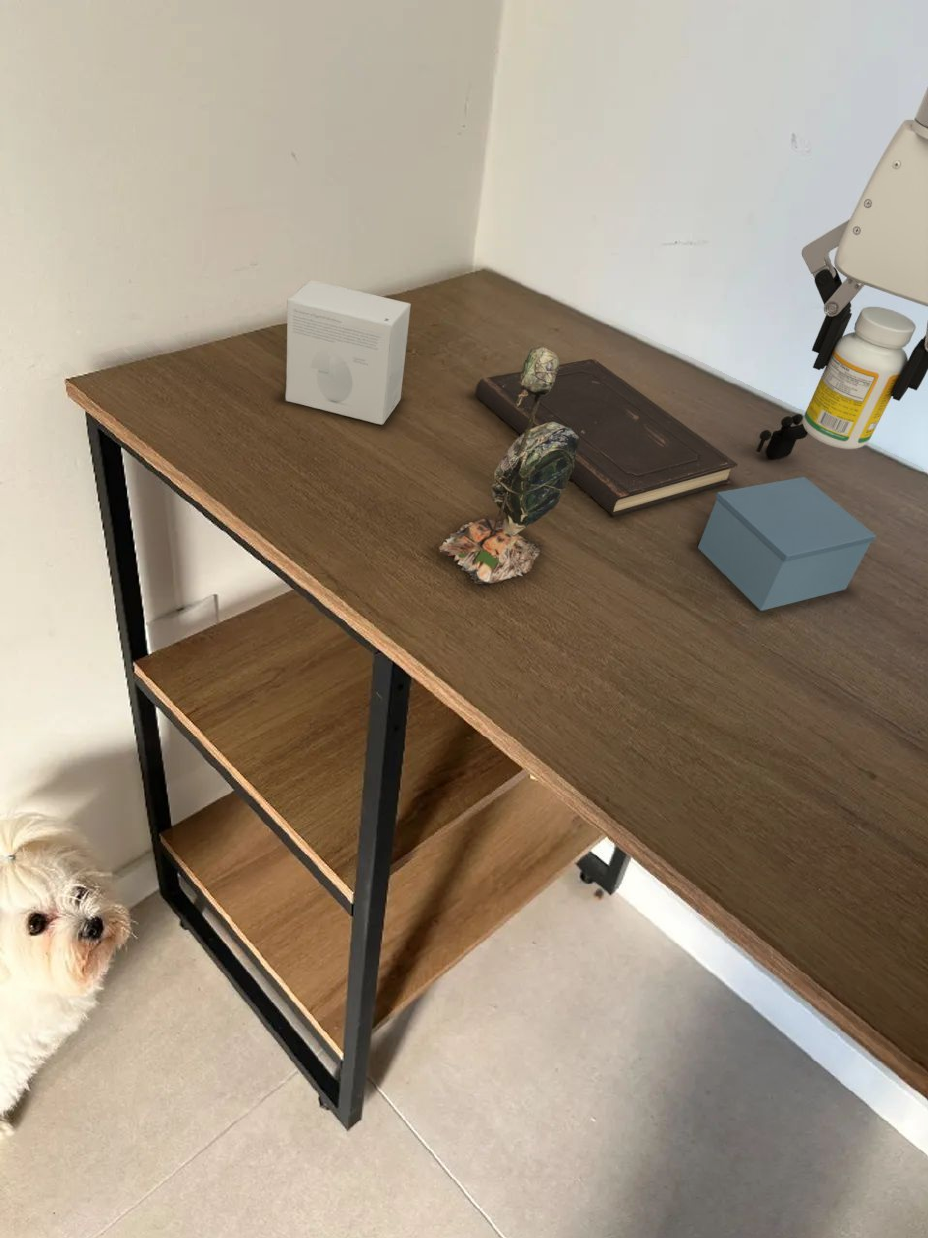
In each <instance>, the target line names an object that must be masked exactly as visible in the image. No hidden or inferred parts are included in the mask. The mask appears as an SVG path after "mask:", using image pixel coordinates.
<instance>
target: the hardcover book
mask: <svg viewBox="0 0 928 1238" xmlns="http://www.w3.org/2000/svg"><path fill="white" fill-rule="evenodd" d="M520 376H521V371H517V372H510V373H506V374H505V373H504V374H500V375H495V376H494V375H493V376H489V377H484V378H481V379H480V380H479V381H478V382H477V384H476V388H475V396H476V397H477V398H478V399H479V400H480V401H481V402H482V403H483V404H484V405H486V406H487V407H488V408H489V409H490V410H492V412H494V414H496V415H497V416H498V417H499V418H500V419H502V420H503V421H504V422H505V423H506V424H507V425H508V426H510V427H511V428H512V429H513V430H514V431H515V432H516V433H518V434H519V435H520V436H521V435H522V434H523V433H525V430H526V428H527V425H528V421H529V418H530V415H531V410H532V406H533V404H534V397H535V395H529V396H526V397H524V398H523V399H522V402H521V403H520V405H518V406H516V402H517V400H518V395H520V394H521V393H522V387H521V385H520V384H519V382H518V381H519V380H520ZM551 422H555V423H558V424H561V425H563V426H565V427H569V428H571V429H572V430H573V432H574V433H575V434H576V435H577V436H578V437H579V438H578V440H579V444H578V448H577V450H576V453H577V454H576V457H575V459H574V460H575V461H574V469H573V471H572V473H571V474H570V476H569V479H570V480H571V481H572V482H574V483H575V484H576V485H577V486H578V487H579V488H580V489H582V490H583V491H584V492H585V493H586V494H587V495H589V496H590V497H591V498H592V499H593V500H594V501H596V502H597V504H599V505H600V506H601V507H602V508H603V509H604V510H605V511H607V512H608V513H609V514H610V515H611V516H612V517H618V516H621V515H624V514H628V513H631V512H634V511H638V510H642V509H644V508H648V507H652V506H655V505H658V504H663V503H666V502H669V501H672V500H677V499H680V498H683V497H686V496H689V495H693V494H697V493H700V492H704V491H706V490H710V489H714V488H717V487H721V486H723V485H727V484H731V483H732V480H731V479H730V478H729V475H730V472H731V470H732V469H734V468H737V467H738V465H739V464H738V463H737V462H736V461H734V460H733V459H732V458H730V457H729V456H727V455H726V454H724V452H722V451H721V450H720V449H718V448H717V447H715V446H714V445H712V444H711V443H710V442H708V441H707V440H706V439H704V438H703V437H701V435H699V434H698V433H696V432H695V431H693V430H692V429H691V428H690V427H688V426H687V425H685V424H684V423H682V422H681V421H680V420H679V419H677V418H676V417H674V416H673V415H672V414H670V413H669V412H667V411H666V410H665V409H663V408H662V407H660V405H658V404H657V403H655V402H654V401H653V400H652V399H650V398H649V397H647V396H646V395H644V394H643V393H642V392H640V391H639V390H638V389H636V388H635V387H634V386H632V385H631V384H629V383H628V382H627V381H625V380H624V379H622V378H621V377H620V376H619V375H617V374H615V373H614V372H613V371H611V370H610V369H609V368H607V367H606V366H605V365H603V364H602V363H601V362H599V361H598V360H597V359H596V358H589V359H583V360H577V361H573V362H571V361H570V362H567V363H559V367H558V371H557V374H556V378H555V383H554V385H553V387H552V388H551V390H550V392H549V393H548V394H547V395H545V396H540V399H539V405H538V407H537V411H536V413H535V418H534V420H533V421H532V426H531V429H532V428H535V427H537V426H541V425H543V424H545V423H551ZM582 430H584V432H585V433H584V434H583V433H581V431H582Z"/></svg>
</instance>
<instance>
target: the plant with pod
mask: <svg viewBox="0 0 928 1238" xmlns="http://www.w3.org/2000/svg"><path fill="white" fill-rule="evenodd" d="M559 365H560V361H559V358H558V356H557V354H556V353H555V352H554V351H553V350H550V349H547V347H546V346H540V347H534V348H532V349H530V351H529V352H528V355H527V357H526V359H525V360H524V362H523V365H522V368H521V371H520V372H521V376H520V380H519V381H518V382H519V384H520V385H521V387H522V393H521V394H520V395H518V400H517V402H516V406H518V405H520V403H521V402H522V399H523V398H524V397H526V396H529V395H535V397H534V404H533V406H532V410H531V415H530V418H529V421H528V425H527V428H526V430H525V433H523V434H522V435H520V436H519V437H518V438H516V439H515V441H514V442H513V443H512V444H511V446H509V447H508V449H507V451H506V452H505V454H504V455H503V457H502V459H501V460H500V462H499V463H498V465H497V468H496V469H495V470H494V474H493V476H494V478H493V484H492V486H491V488H492V493H491V498H492V501H493V503H494V504H495V506H497V508H499V511H498V514H497V517H496V518H492V517H491V516H488V517H487V518H482V519H481V518H480V519H479V520H477V521H475V522H474V521H473V522H469V523H465V524H462V526H461V527H460V529H456V531H457V532H450V533H449V538H446V539H445V541H446V542H445V541H443V544H442V545H440V546H438V548H439V552H440V553H442V555H447V557H451V556H454V559H453V562H456V561H458V562H457V565H459V566H461V569H460V570H461V571H464V572H466V574H469V576H471V577H470V579H471V580H473V582H474V584H478V585H484V586H485V585H492V584H497V583H501V582H502V581H506V580H507V579H511V578H513V577H517V576H520V577H523V574H524V575H527V574H528V573H529V572H531V569H533V566H534V563H535V560H536V558H538V557H539V554H540V552H541V549H542V548H543V547H544V546H543V545H542V546H541V544H540V545H539V543H540V542H537V543H536V542H532V541H529V540H528V539H526V538H524V537H523V536H521V535H519V534H520V533H521V531H523V530H524V529H526V528H527V527H529V525H531V524H534V523H535V522H537V521H538V520H540V519H542V518H543V516H545V515H546V514H548V512H550V511H552V510H554V508H556V506H557V505H558V504H559V501H560V499H561V497H562V494H563V492H564V491H565V490H566V488H567V485H568V482H569V479H570V478H569V476H570V474H571V473H572V471H573V469H574V461H575V460H574V459H575V457H576V454H577V453H576V450H577V448H578V444H579V440H578V438H579V437H578V436H577V435H576V434H575V433H574V432H573V430H572V429H571V428H569V427H565V426H563V425H561V424H558V423H555V422H551V423H545V424H543V425H541V426H537V427H535V428H532V429H531V426H532V421H533V420H534V418H535V413H536V411H537V407H538V405H539V399H540V396H545V395H547V394H548V393H549V392H550V390H551V388H552V387H553V385H554V383H555V378H556V374H557V371H558V367H559ZM581 433H583V434H584V433H585V432H584V430H582V431H581ZM502 513H504V516H505V518H504V519H503V520H502V521H503V522H502V521H500V519H501V516H502ZM522 573H523V574H522Z"/></svg>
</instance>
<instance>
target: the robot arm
mask: <svg viewBox="0 0 928 1238" xmlns="http://www.w3.org/2000/svg"><path fill="white" fill-rule="evenodd" d="M836 248H837V249H836ZM834 249H836V251H835V255H834V260H833V264H834V265H833V264H832V260H831V257H830V252H831V251H833V250H834ZM801 257H802V258H803V261H804V262H805V264H806V266H807V269H808V271H809V272H810V274H811V275H812V276H813V278H814V285H815V286H816V289H817V291H818V294H819V296H820V299H821V301H822V303H823V312H824V314H825V316H824V318H823V322H822V323H821V327H820V328H819V331H818V333H817V336H816V337H815V341H814V342H813V345H812V348H811V351H812V352H814V353H816V354H817V356H816V358H815V361H814V363H813V365H812V368H813V369H815V370H818V371H820V370H825V368H826V365H827V363H828V361H829V358H830V356H831V354H832V352H833V349H834V347H835V345H836V343H837V342H838V340H839V339H840V338H841V337H843V336H844V335H845V332H846V330H847V327H848V325H849V322H850V320H851V318H852V315H853V313H852V309H851V308H852V303H851V302H852V301H853V299H854V298H855V297H856V296H857V295H858V293H859V292H860V291H861V290H862V289H863V288H864V287H865V286H866V287H869V288H873V289H876V290H879V291H881V292H884V293H887V294H889V295H892V296H895V297H898V298H901V299H904V300H907V301H910V302H912V303H916V304H919V305H921V306H923V307H926V308H927V307H928V87H927V88H926V90H925V93H924V95H923V97H922V100H921V102H920V105H919V107H918V109H917V112H916V114H915V116H914V119H904V120H903V122H902V123H901V124H900V126H899V127H898V129H897V130H896V131H895V133H894V135H893V136H892V138H891V139H890V141H889V143H888V145H887V146H886V148H885V149H884V151H883V153H882V155H881V157H880V159H879V160H878V162H877V164H876V166H875V168H874V170H873V171H872V174H871V175H870V177H869V179H868V181H867V183H866V185H865V187H864V189H863V191H862V193H861V196H860V198H859V200H858V201H857V204H856V206H855V208H854V210H853V212H852V214H851V216H850V218H849V219H846V220H845V221H844V222H842V223H840V224H839V225H837V226H836V227H833V228H832V229H830V230H828V231H827V232H826V233H824V234H822V235H821V236H819V237H817V238H815V239H813V240H812V241H811V242H809V243H807V244H806V245H805V246H804V247H802V249H801ZM839 273H840V274H841V275H842V276H844V277H846V279H845V280H843V281H842V279H841V276H840V275H839ZM927 373H928V321H927V323H926V330H925V334H924V336H923V338H921V339H920V340H919V341H918V343H917V344H916V345H915V346H914V347H913V350H912V352H911V353H910V355H909V357H908V362H907V364H906V366H905V368H904V370H903V372H902V374H901V376H900V378H899V380H898V382H897V384H896V386H895V388H894V390H893V392H892V394H891V396H892V400H894V401H895V400H896V401H898V402H900V401H901V399H902V398H903V396H904V395H905V394H906V392H907V391H908V389H911V390H914V391H918V389H919V387H920V386H921V384H922V382H923V380H924V378H925V376H926V375H927Z"/></svg>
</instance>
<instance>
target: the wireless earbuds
mask: <svg viewBox="0 0 928 1238" xmlns="http://www.w3.org/2000/svg"><path fill="white" fill-rule="evenodd" d="M803 417H804V415H803V414H801V413H798V414H794V415H793V416H789V415H787V416H784V417H783V418H782V419H781V420H780V424H781V428H780V429H779V430H774V431H772V432H771V431H770V430H768V429H765V430H763V431H762V432H760V434H759V439H760V441H759V444H758V445H757V448H756V454H761V452H762V450H763V447H764V444H765V443H766V442H767V441H769V442H768V444H767V446H766V449H765V456H766V457H767V458H768V459H769V460H776V459H782V458H786V457H787V458H788V456H790V455H791V454H792V451H793V449H794V447H795V444H796V443H797V441H799V440H803V439H805V438H806V437H807V436H808V435H809V433H808V432H807V431H806V430H805V428H804V426H803V423H802V422H803ZM793 424H794V425H793Z"/></svg>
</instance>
